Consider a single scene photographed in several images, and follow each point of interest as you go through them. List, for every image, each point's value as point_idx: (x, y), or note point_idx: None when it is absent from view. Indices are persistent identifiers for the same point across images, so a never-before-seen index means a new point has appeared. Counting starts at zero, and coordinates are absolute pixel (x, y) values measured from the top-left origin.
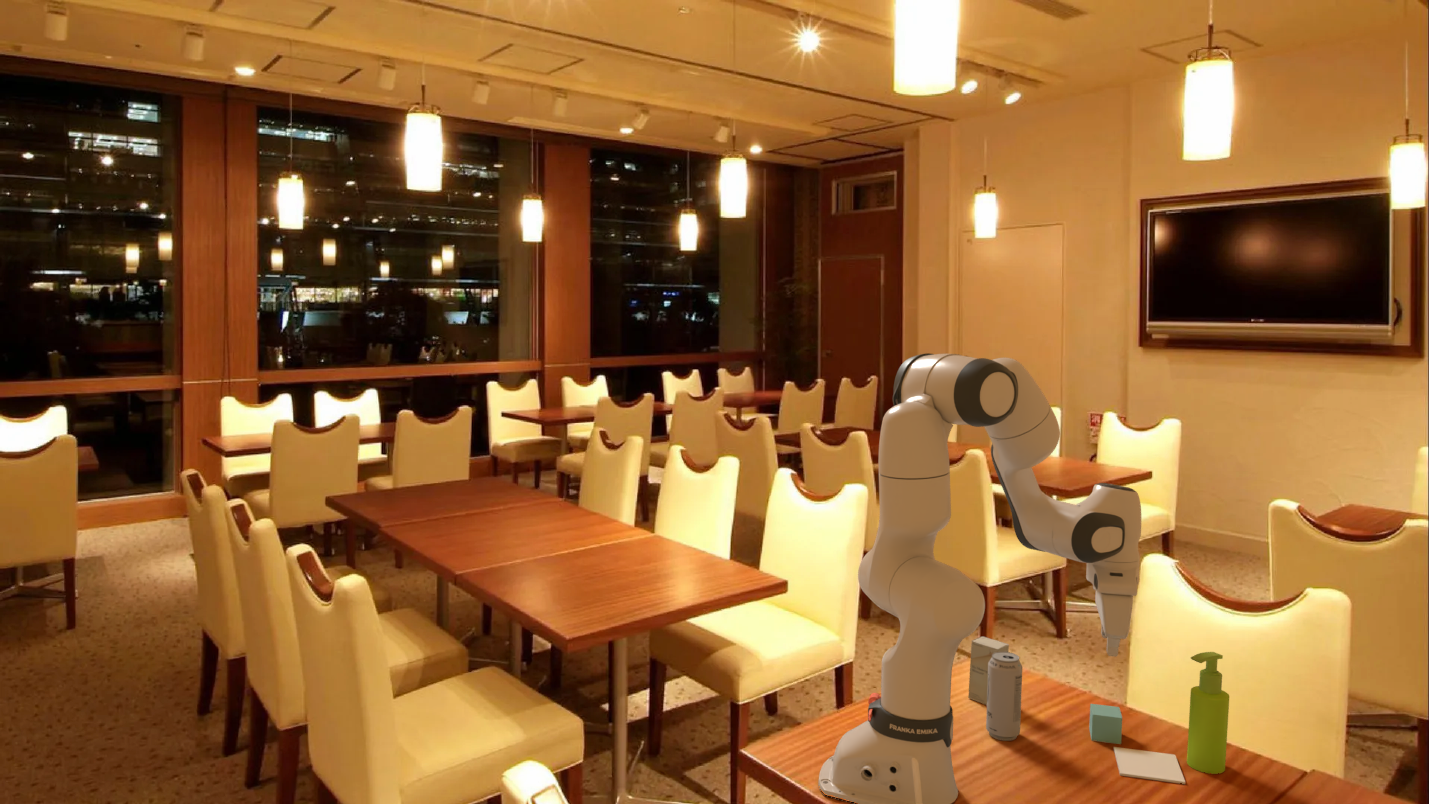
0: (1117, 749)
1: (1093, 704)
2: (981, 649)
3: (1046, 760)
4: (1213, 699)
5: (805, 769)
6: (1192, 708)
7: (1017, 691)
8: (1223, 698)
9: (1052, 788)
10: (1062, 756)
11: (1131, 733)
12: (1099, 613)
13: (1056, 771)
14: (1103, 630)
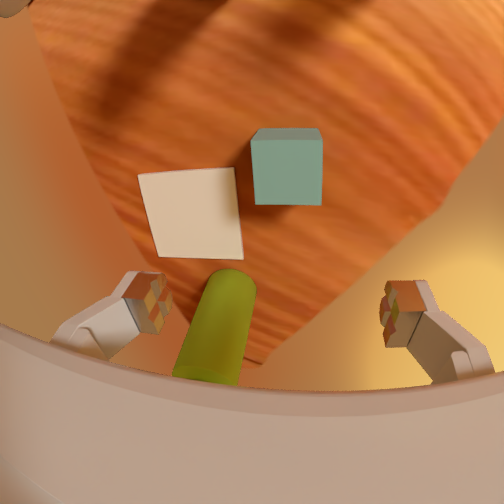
0: (224, 174)
1: (318, 147)
2: None
3: (138, 59)
4: None
5: None
6: (193, 341)
7: None
8: None
9: (65, 91)
10: (164, 81)
11: (320, 205)
12: (277, 427)
13: (108, 82)
14: (395, 309)
